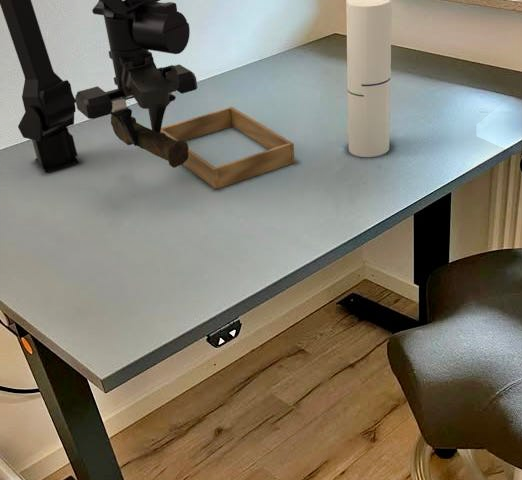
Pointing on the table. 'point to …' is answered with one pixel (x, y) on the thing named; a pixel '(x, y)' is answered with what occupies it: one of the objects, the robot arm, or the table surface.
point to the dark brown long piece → (154, 142)
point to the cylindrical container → (368, 76)
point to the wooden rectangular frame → (239, 169)
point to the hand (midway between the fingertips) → (146, 142)
